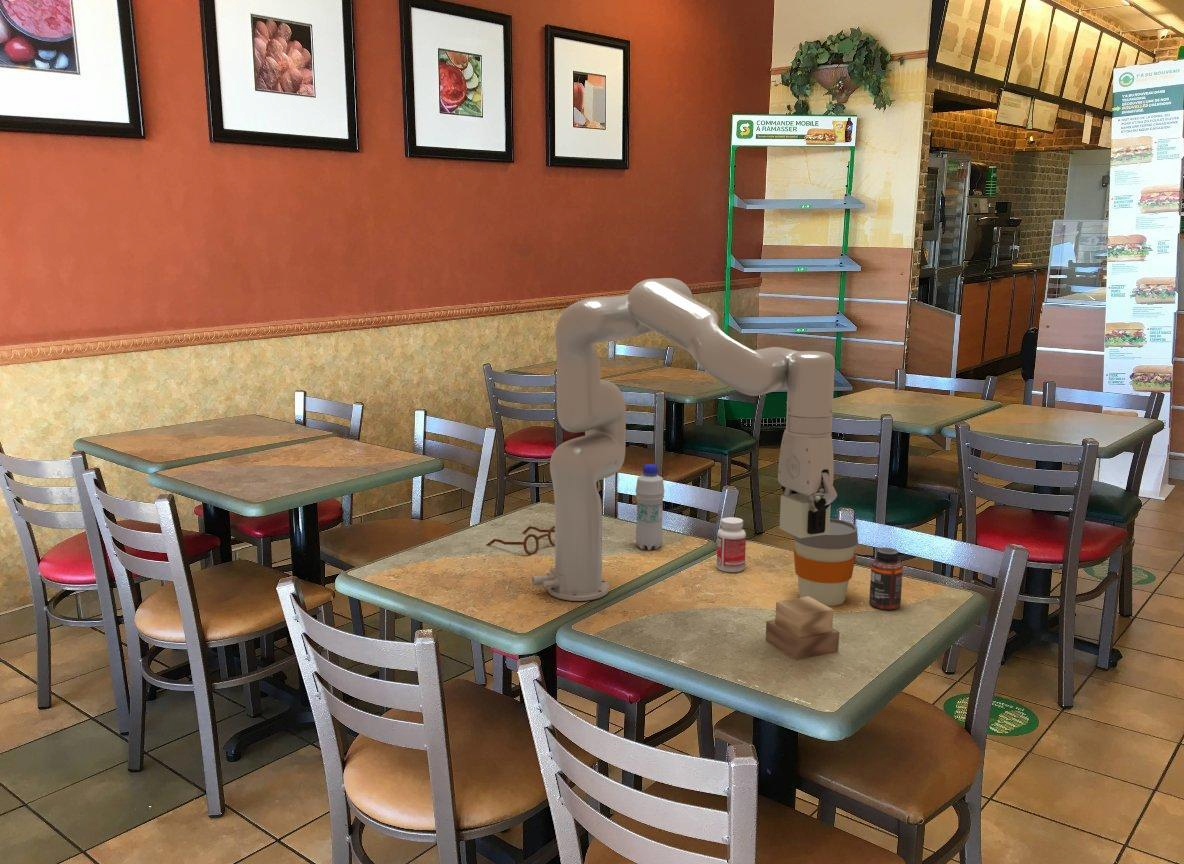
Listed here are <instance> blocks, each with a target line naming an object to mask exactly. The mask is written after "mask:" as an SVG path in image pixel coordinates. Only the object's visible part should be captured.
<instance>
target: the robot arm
mask: <svg viewBox="0 0 1184 864" xmlns="http://www.w3.org/2000/svg"><path fill="white" fill-rule="evenodd" d="M554 332H555V334H554V335H555V336H554V338H555V339H554V341H555V342H554V343H555V351H556V416H557V420H558V423H559V425H560V426H561V427H562V429H564V430H565V431H567V432H569V433H584V432H585V435H582V436H578V437H574V438H572V439H568V440H566V441H564V442H562V443H561V444H559V445H558V446H557V447H556V448H555V449H554V450H553V452H552V454H551V457H550V461H549V472H550V477H551V481H552V482H551V483H552V487H553V497H554V526H555V529H554V530H555V532H554V544H555V546H554V567H550V572H547V573H546V574H544V575H533V576H532V577H531V583H532V586H542V588H543V589H545V588H547V592H548V594H550V596H552V597H554V598H557V599H559V600H564V601H571V602H572V601H573V602H584V601H585V602H586V601H593V600H597V599H600V598H603V597H605V596H606V595H607V594H608V593H609V591H610V583H608V581H607V580H606V579H603V578H602V577H603V576H602V573H603V572H602V571H603V570H602V569H603V568H602V566H603V560H602V559H603V556H602V555H603V505H602V499H601V495H600V494H599V491H598V487H597V482H598V481H601V480H605V479H606V478H607V479H608V478H609V477H611V476H613V475H615V474H616V473H618V472H619V471H620V470H621V469H622V467H623V464H624V462H625V456H626V437H627V436H626V433H627V432H626V429H627V428H626V427H627V426H626V425H627V421H626V420H627V411H626V401H625V398H624V394H623V393H622V391H621V390H620V387H618V386H617V384H615V383H614V382H611V381H609V380H606V379H601V368H602V367H601V360H600V355H599V353H598V351H597V348H596V347H595V345H597V344H599V343H604V342H614V341H619V340H620V341H621V340H625V339H632V338H635V337H639V336H641V335H644V334H647V333H650V332H655V333H656V334H658V335H660V336H662V337H663V338H666V339H667V340H668V341H670V342H672V343H674V344H675V345H677V346H679V347H680V348H682V349H683V350H685V351H686V352H687V353H689V354H690V355H691V356H692V358H693V360H694V361H695V362H696V363H697V364H698V365H699V367H701V368H702V369H703V370H704V372H706V373H707V374H709V375H710V376H711V377H713V378H715V379H716V380H717V381H719V382H721V383H722V384H725V385H726V386H728V387H730V388H732V389H733V390H735V391H736V392H739V393H741V394H744V395H747V396H750V397H751V396H753V397H755V396H756V397H757V396H762V395H765V394H770V393H773V392H777V391H781V390H787V394H786V395H787V397H786V398H787V399H786V404H787V405H786V421H785V422H786V423H785V424H786V426H785V429H784V432H783V434H782V438H781V444H780V450H779V458H778V472H777V481H778V483H779V485H780V486H781V490H782V491H783V495H788V494H796V493H801V494H803V495H807V496H809V501H810V506H811V511H808V534H818V533H824V532H825V520H826V511H827V510H828V509H829V506H830V505H832V503H833V502H834V501H835V500H836V499H837V497H838V493H837V490H836V489H835V487H834V485H833V484H834V472H835V468H834V467H835V466H834V465H835V462H834V446H833V445H834V444H833V437H832V432H833V431H832V430H833V429H832V428H833V410H834V392H835V390H834V389H835V387H834V386H835V373H836V372H835V371H836V360H835V358H834V356H833V355H832V354H831V353H829V352H825V351H820V350H819V351H817V350H801V351H799V350H795V349H789V348H785V347H779V346H770V347H765V348H760V349H752V348H750V347H748V346H746V345H744V344H742V343H740V342H738V341H737V340H735V339H734V338H732V337H730V336H729V335H728V334H726V333H725V332H724V331H723V330H722V329H721V328H720V327H719V315H718V314H717V311H715V310H714V309H712V308H710V307H708V306H707V305H704V303H701V302H699V301H698V300H696V299H694V297H693V293H692V291H691V289H690V288H689V286H688V285H687V284H686V283H685V282H684V281H682V280H680V279H677V278H673V277H662V278H648V279H647V278H646V279H643V280H641V281H639V282H638V283H636V284H635V285H634V286H633V287H632V288H631V289H630V291H629V293H627V294H623V295H616V296H614V295H613V296H598V297H597V296H596V297H590V298H585V299H581V300H579V301H576V302H574V303H572V304H570V305H569V306H567V308H566V309H564V311H563V312H562V313H561V315H560V316H559V318H558V320H557V322H556V327H555V331H554ZM816 496H820V500H819V501H818V502H816Z"/></svg>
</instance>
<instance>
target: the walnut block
mask: <svg viewBox="0 0 1184 864" xmlns="http://www.w3.org/2000/svg"><path fill="white" fill-rule="evenodd" d="M765 626H766V627H765V641H766V642H768V643H769V644H771V645H773V646H774V647H775V648H777V649H778V650H779V651H782V653H785V655H787V656H789V657H790V658H792V659H793V660H794V661H796V660H802V659H807V658H811V657H816V656H821V655H826V654H832V653H837V652H839V646H840V645H839V642H840V631H839V630H837V629H835V628H833V627H832V631H831V632H826V633H821V634H816V635H810V636H805V637H800V638H799V637H797V636H795V635H794V634H792V633H791V632H789V631H787V630H786V629H784V628H782V627H781V626H779V625H778V624H776V623H775V619H770V620H766V624H765Z"/></svg>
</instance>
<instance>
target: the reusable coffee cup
mask: <svg viewBox="0 0 1184 864" xmlns="http://www.w3.org/2000/svg"><path fill="white" fill-rule="evenodd" d="M858 535H859V534H858V526H856V525H855V524H854V523H851V522H849V521H847V520H844V519H838V518H831V517H830V529H829V534H827V535H820V536H812V537H805V538H798V537H796V536H794V535H792V538H793V540H794V546H795V547H794V549H793V559H794V560H793V561H794V573H795V574H796V575H797V582H798V583H797V584H798V585H797V586H798V594H799V595H798V596H799V597H798V598H801V597H807V596H809V597H811V598H813V599H815V600H817V601H818V602H820V603H822V604H824V605H826V606H828V607H835V606H839V605H842V604H843V603H845V600H846V597H847V591H848V586H849V582H850V580H851V578H852V576H853V573H854V568H855V567H854V566H855V564H856V563H855V562H856V557H857V556H856V554H855V550H856V546H857V545H858V544H859V539H858V537H859V536H858Z"/></svg>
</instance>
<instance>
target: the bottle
mask: <svg viewBox="0 0 1184 864" xmlns="http://www.w3.org/2000/svg"><path fill="white" fill-rule="evenodd" d="M658 471H659V468H658V466H657V465H656V464H653V463H647V464H645V465H643V467H642V475H639V476H638V477H637V479H636V480H637V481H636V486H635V498H636V526H635V527H636V528H635V543H636V546H637V547H638V548H640V549H641V550H645V547H647V550H648V551H651V550H652V548H653V549H654V550H658V549H659V548H660V547H661V546H662V543H663V539H664V537H663V536H664V535H663V534H664V533H663V501H664V499H665V484H664V478H663V477H662V476H660V475H658V473H659V472H658Z"/></svg>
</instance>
